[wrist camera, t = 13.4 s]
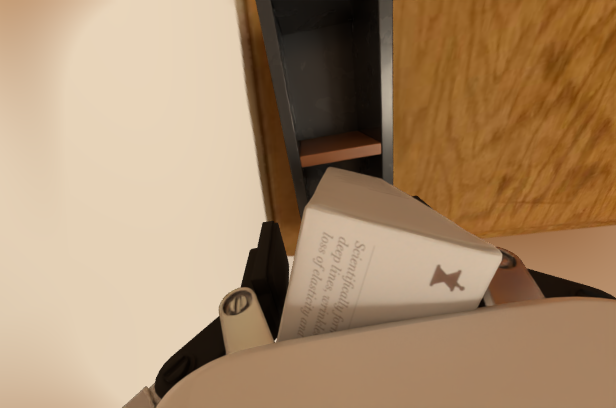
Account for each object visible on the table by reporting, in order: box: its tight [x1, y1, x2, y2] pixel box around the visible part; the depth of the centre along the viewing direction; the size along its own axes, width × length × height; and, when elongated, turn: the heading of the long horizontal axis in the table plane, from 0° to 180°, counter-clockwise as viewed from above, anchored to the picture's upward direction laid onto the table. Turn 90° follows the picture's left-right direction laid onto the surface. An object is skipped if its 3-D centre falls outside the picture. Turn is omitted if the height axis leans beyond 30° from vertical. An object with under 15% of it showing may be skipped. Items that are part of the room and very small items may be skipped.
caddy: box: [256, 0, 393, 222], centre depth 19 cm, size 19×7×8 cm, turn 10°
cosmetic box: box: [276, 167, 502, 342], centre depth 11 cm, size 6×4×12 cm
